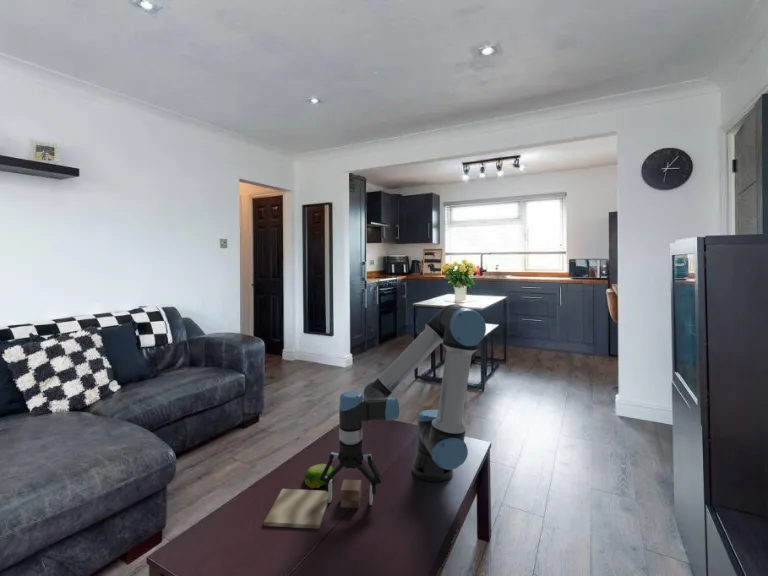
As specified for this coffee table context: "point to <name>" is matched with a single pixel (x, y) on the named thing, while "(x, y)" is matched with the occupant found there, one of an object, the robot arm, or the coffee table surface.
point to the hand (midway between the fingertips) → (350, 501)
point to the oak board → (298, 509)
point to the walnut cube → (351, 493)
